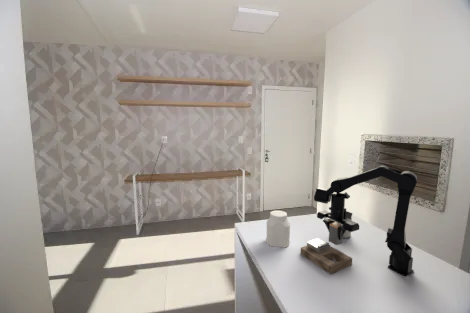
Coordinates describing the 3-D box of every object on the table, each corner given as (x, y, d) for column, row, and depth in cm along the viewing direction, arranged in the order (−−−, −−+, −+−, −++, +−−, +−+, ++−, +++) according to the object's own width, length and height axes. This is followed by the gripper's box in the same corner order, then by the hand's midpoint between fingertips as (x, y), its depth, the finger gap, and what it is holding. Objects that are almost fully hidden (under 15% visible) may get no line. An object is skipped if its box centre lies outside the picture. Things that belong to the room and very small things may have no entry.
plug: (342, 243, 101) (343, 225, 100) (336, 245, 99) (337, 227, 99) (334, 239, 105) (335, 222, 104) (328, 241, 103) (329, 223, 102)
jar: (265, 246, 104) (266, 216, 102) (266, 236, 114) (267, 209, 112) (290, 248, 102) (291, 217, 100) (288, 238, 112) (289, 210, 110)
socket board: (351, 264, 89) (352, 258, 89) (330, 274, 83) (330, 266, 83) (320, 246, 103) (320, 240, 103) (300, 253, 98) (300, 247, 97)
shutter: (330, 249, 95) (330, 243, 95) (319, 253, 92) (319, 247, 91) (317, 242, 101) (317, 236, 101) (306, 246, 98) (307, 240, 98)
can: (347, 232, 119) (348, 211, 118) (353, 238, 112) (354, 216, 110) (333, 231, 120) (334, 210, 118) (338, 238, 112) (339, 216, 111)
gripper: (368, 209, 96) (365, 242, 98) (332, 198, 112) (330, 226, 114) (352, 213, 91) (349, 248, 92) (316, 201, 107) (315, 231, 109)
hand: (335, 237), depth 102 cm, fingers closed on plug, 4 cm apart
